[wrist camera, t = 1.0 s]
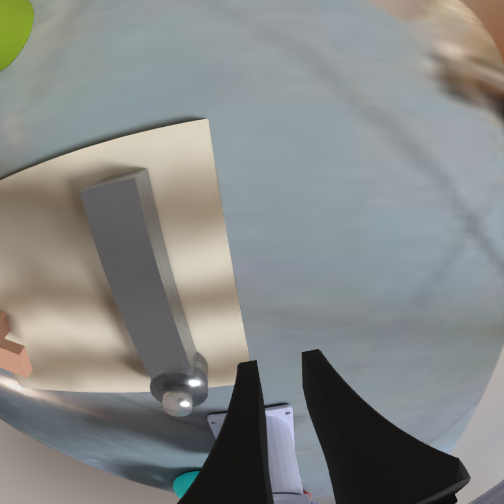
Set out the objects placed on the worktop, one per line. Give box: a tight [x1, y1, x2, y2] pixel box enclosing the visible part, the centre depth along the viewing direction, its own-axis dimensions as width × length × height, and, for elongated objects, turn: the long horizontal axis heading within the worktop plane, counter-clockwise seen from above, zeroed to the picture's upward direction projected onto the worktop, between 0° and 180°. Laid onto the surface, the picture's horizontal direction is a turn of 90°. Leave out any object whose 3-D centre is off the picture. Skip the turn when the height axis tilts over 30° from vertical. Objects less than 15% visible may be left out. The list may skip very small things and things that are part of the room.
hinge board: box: [0, 119, 250, 392], centre depth 19 cm, size 19×24×1 cm
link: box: [80, 169, 208, 417], centre depth 17 cm, size 16×4×4 cm, turn 7°
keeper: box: [0, 310, 33, 378], centre depth 17 cm, size 6×2×4 cm, turn 77°
